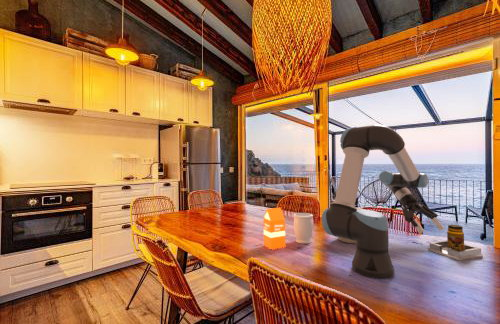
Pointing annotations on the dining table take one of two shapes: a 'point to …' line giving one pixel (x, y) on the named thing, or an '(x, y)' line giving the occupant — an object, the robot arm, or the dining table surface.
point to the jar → (303, 227)
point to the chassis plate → (455, 251)
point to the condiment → (455, 237)
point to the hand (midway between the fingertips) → (432, 230)
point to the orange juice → (274, 228)
